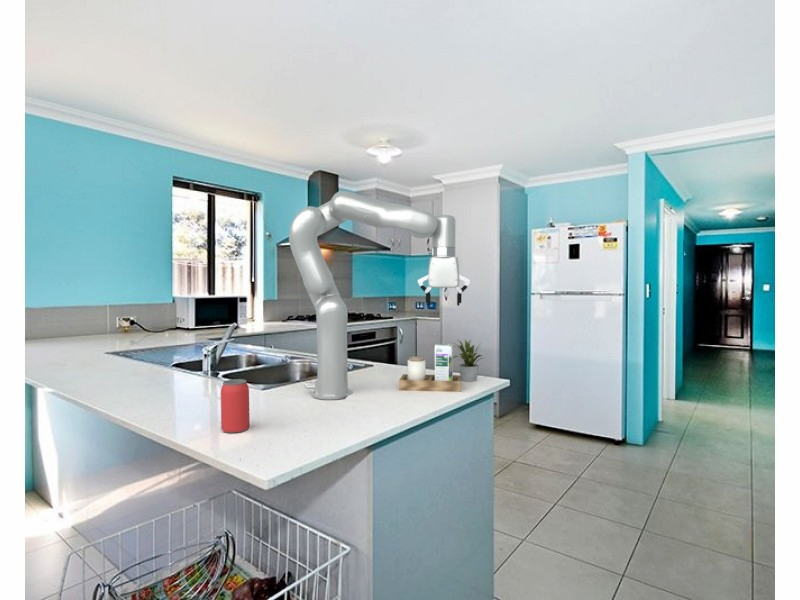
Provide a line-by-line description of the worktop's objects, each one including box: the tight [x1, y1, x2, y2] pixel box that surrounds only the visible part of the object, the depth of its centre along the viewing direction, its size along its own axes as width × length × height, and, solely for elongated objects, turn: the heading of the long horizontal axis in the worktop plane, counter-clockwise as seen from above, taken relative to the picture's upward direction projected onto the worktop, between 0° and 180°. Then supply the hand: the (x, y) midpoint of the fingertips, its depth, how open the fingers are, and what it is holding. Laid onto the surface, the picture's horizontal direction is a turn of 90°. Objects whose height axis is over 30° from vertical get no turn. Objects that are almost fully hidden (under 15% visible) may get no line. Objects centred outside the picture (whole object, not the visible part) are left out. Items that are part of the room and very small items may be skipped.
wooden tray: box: [398, 373, 462, 393], centre depth 158 cm, size 20×10×4 cm, turn 82°
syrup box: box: [434, 343, 454, 381], centre depth 157 cm, size 6×6×14 cm
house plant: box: [450, 339, 483, 383], centre depth 169 cm, size 14×14×16 cm
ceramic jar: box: [407, 355, 426, 380], centre depth 158 cm, size 6×6×10 cm
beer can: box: [220, 378, 251, 434], centre depth 116 cm, size 7×7×12 cm
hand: (443, 305), depth 156 cm, fingers open, 9 cm apart
